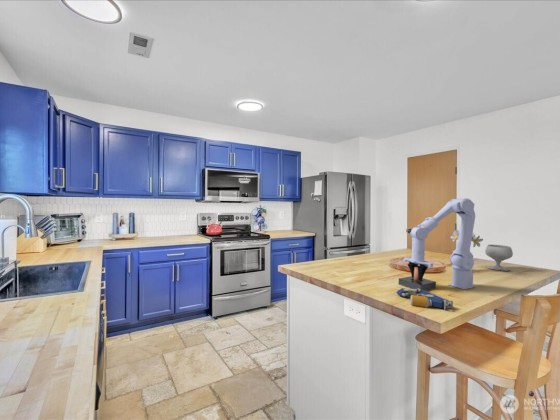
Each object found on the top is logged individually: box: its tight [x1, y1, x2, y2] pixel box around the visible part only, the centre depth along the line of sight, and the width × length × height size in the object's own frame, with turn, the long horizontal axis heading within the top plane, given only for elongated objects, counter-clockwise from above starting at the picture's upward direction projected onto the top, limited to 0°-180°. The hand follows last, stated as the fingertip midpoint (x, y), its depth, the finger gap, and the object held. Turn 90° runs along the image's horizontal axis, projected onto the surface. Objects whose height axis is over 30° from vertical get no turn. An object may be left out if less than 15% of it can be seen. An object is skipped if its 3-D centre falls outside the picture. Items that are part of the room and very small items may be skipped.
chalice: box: [484, 244, 514, 272], centre depth 179 cm, size 14×14×15 cm
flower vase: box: [450, 229, 484, 248], centre depth 172 cm, size 13×18×25 cm
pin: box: [414, 267, 420, 282], centre depth 137 cm, size 3×3×8 cm
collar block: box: [398, 275, 437, 291], centre depth 138 cm, size 12×12×3 cm
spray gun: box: [395, 287, 454, 310], centre depth 116 cm, size 21×4×15 cm
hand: (417, 278), depth 138 cm, fingers closed on pin, 3 cm apart
